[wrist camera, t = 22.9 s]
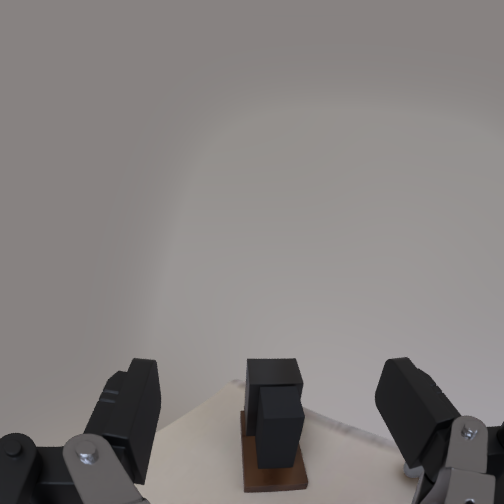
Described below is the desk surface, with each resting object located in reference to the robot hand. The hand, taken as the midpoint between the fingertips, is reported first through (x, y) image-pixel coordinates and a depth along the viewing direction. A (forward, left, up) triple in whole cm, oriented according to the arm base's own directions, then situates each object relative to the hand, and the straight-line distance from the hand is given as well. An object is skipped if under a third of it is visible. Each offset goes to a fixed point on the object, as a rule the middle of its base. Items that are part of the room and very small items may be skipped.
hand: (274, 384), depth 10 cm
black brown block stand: (-12, +13, -26) cm, 32 cm away
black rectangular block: (-11, +12, -25) cm, 30 cm away
